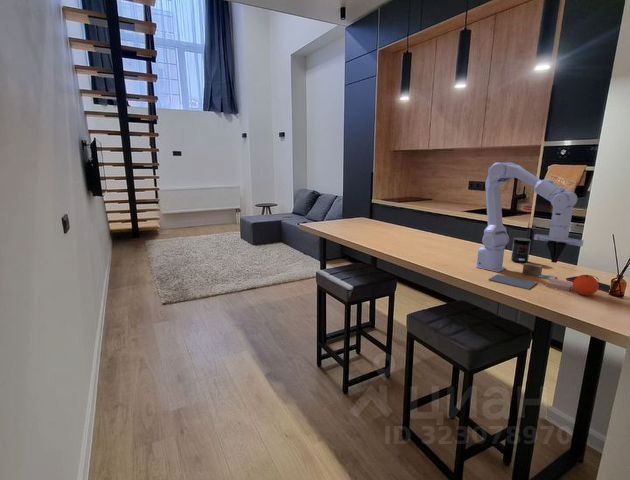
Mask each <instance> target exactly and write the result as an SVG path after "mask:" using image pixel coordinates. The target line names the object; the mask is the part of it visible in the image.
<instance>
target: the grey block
mask: <svg viewBox="0 0 630 480" xmlns="http://www.w3.org/2000/svg"><path fill="white" fill-rule="evenodd" d="M522 275H528V276H531V277H532V276H533V277H536V278H540V279H543V280H547V281H549V280H550V279H552V278H554V279H558V278H557V276H555V275H550V274H545V273H543V265H538V264H533V263H528V262H527V263H523V265H522Z"/></svg>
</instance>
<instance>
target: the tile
mask: <svg viewBox="0 0 630 480" xmlns="http://www.w3.org/2000/svg"><path fill="white" fill-rule="evenodd" d="M545 284H546V285H545V287H547V288H552V289H555V288H556V290H561V291H565V292H570V291H571V290H572V289H574V287H573V282H571V281H568V280H562V279H558V278H556V279H554V278H552V279H550V280H547V281H546V283H545Z"/></svg>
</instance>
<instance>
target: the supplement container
mask: <svg viewBox="0 0 630 480" xmlns="http://www.w3.org/2000/svg"><path fill="white" fill-rule="evenodd" d="M531 241H532V240H531V239H530V238H525V237H513V241H512V251H511V260H510V261H512V262H514V263H517V264H525V263H528V262H529V256H530V249H531V248H530V247H531Z"/></svg>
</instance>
